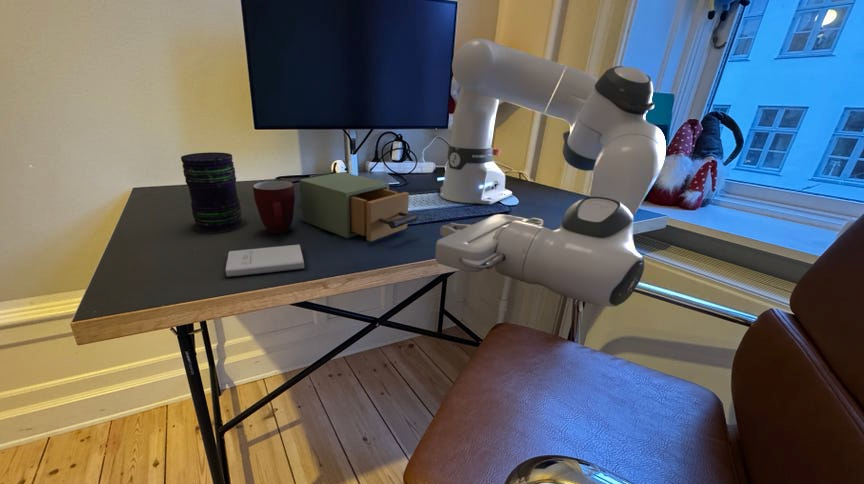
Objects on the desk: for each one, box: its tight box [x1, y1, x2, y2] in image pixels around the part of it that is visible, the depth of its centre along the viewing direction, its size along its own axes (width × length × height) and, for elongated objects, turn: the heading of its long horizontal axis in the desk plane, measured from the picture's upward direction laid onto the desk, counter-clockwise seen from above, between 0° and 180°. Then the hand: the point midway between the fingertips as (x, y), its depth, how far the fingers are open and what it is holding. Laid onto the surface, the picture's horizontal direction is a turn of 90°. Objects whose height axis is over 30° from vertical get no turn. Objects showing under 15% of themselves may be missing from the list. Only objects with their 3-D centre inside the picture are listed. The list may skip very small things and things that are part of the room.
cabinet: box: [298, 171, 390, 239], centre depth 83 cm, size 16×13×10 cm
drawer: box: [349, 188, 418, 242], centre depth 77 cm, size 19×11×8 cm, turn 47°
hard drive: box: [225, 244, 305, 278], centre depth 64 cm, size 2×8×12 cm
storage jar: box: [180, 151, 244, 234], centre depth 78 cm, size 10×10×15 cm
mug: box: [252, 180, 296, 235], centre depth 76 cm, size 11×8×10 cm
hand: (444, 228), depth 66 cm, fingers closed
